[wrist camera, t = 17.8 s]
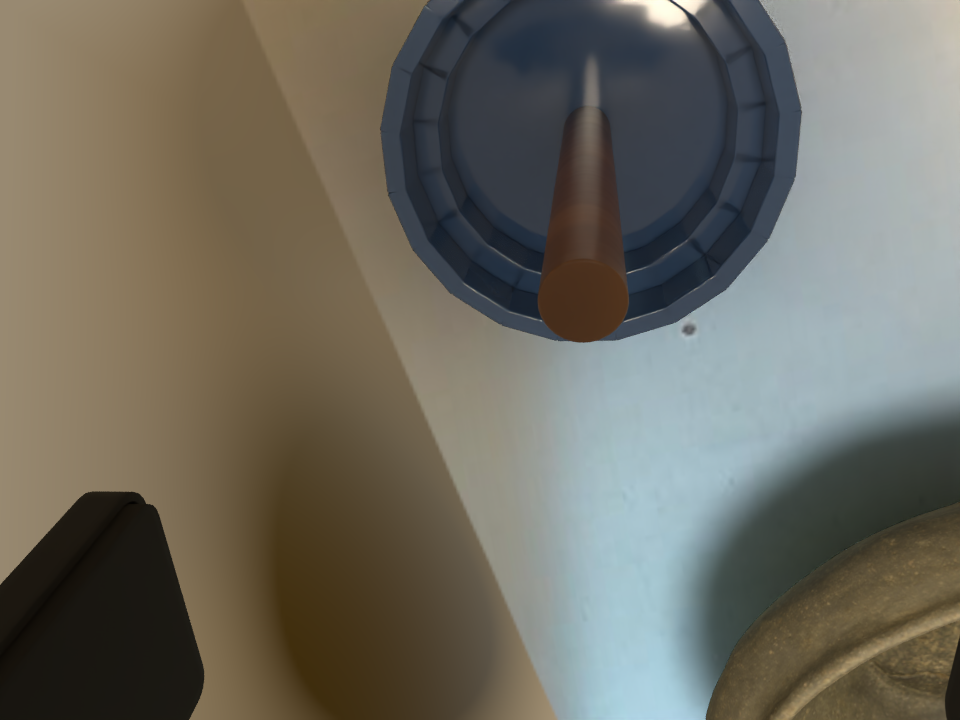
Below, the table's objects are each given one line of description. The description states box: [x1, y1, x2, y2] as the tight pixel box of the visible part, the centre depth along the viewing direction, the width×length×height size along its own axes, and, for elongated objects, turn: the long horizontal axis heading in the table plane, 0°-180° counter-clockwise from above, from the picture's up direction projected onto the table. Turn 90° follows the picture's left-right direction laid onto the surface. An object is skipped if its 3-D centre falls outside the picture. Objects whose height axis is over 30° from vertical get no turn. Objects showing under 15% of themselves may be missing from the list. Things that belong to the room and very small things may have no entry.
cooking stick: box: [538, 106, 629, 343], centre depth 27 cm, size 2×2×20 cm
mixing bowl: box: [380, 0, 802, 341], centre depth 34 cm, size 16×16×6 cm
